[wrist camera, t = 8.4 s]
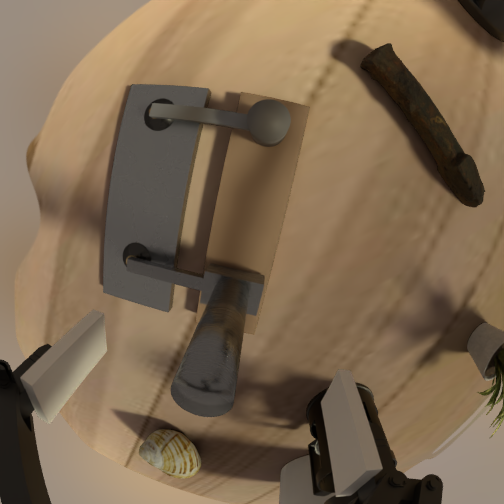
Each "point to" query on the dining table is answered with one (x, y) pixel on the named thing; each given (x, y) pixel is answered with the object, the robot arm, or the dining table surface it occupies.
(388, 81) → the hand tool
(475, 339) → the house plant
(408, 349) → the dining table surface
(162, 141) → the bolt plate
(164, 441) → the seashell
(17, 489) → the robot arm
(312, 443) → the french press
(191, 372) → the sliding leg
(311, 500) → the utensil holder
